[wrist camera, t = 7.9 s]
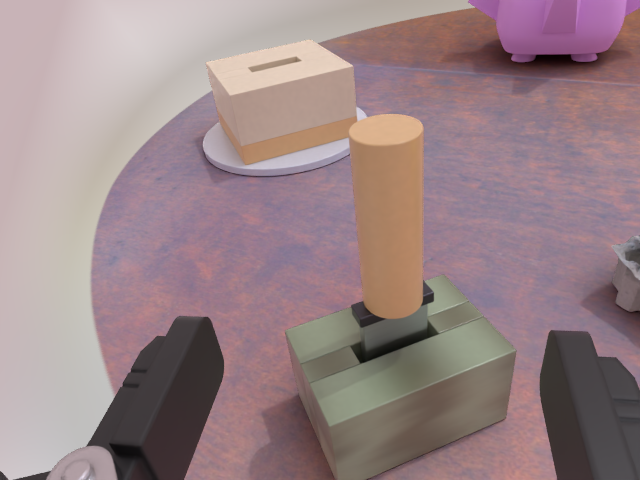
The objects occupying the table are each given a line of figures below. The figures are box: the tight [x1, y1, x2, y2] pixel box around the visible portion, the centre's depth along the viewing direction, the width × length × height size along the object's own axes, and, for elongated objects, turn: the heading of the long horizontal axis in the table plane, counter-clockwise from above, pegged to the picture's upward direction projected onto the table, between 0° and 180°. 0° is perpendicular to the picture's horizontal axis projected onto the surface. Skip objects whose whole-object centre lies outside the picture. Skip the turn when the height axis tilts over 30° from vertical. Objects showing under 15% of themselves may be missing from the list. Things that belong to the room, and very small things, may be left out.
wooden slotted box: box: [206, 39, 357, 165], centre depth 54 cm, size 12×12×7 cm
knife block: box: [285, 275, 516, 480], centre depth 26 cm, size 9×6×5 cm, turn 111°
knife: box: [348, 114, 434, 363], centre depth 23 cm, size 4×3×16 cm
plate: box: [203, 107, 367, 176], centre depth 56 cm, size 18×18×1 cm
